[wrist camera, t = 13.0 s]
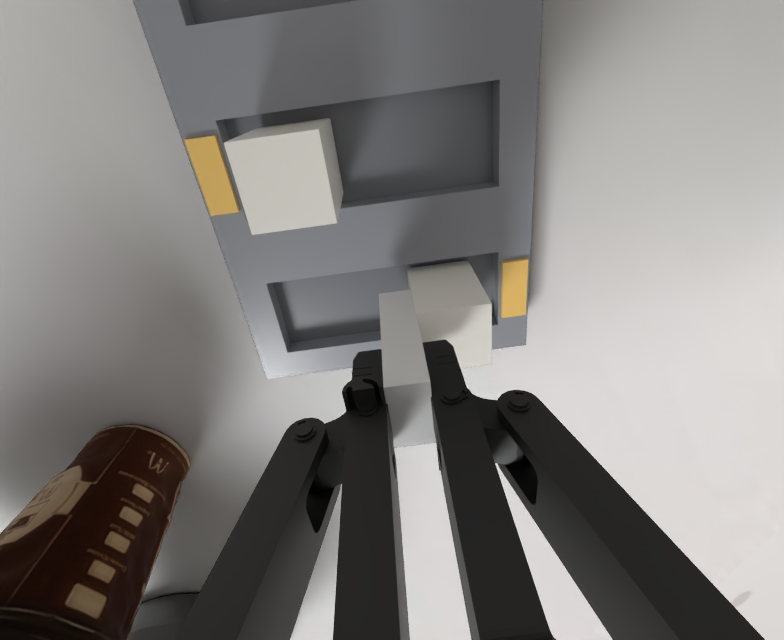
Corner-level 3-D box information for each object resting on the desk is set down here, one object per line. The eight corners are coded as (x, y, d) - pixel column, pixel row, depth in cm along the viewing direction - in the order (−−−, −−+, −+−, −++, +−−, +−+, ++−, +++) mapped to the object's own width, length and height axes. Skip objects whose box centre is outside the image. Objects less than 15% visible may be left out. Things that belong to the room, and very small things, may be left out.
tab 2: (412, 320, 22) (422, 373, 18) (406, 268, 20) (416, 313, 16) (469, 313, 22) (491, 364, 18) (467, 260, 20) (491, 303, 16)
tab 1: (276, 201, 18) (251, 234, 14) (257, 128, 17) (223, 143, 13) (343, 192, 18) (337, 223, 14) (330, 117, 17) (318, 129, 13)
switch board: (274, 357, 24) (266, 381, 22) (100, -168, 13) (55, -209, 11) (514, 325, 24) (527, 347, 22) (532, -236, 13) (560, -289, 11)
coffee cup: (57, 476, 28) (-149, 742, 17) (76, 391, 24) (-170, 655, 13) (188, 510, 30) (83, 761, 19) (221, 436, 27) (117, 692, 16)
